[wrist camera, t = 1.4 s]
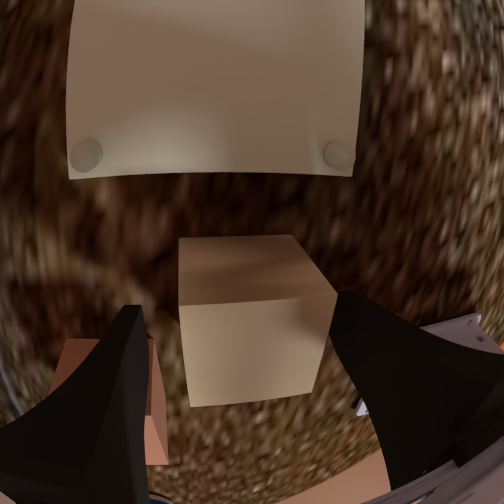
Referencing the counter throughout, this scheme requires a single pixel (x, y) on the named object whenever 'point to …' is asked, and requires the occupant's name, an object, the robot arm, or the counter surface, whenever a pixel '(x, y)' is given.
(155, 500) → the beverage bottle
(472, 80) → the counter surface
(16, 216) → the counter surface
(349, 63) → the base plate
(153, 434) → the terracotta brick
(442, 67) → the counter surface
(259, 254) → the maple brick
